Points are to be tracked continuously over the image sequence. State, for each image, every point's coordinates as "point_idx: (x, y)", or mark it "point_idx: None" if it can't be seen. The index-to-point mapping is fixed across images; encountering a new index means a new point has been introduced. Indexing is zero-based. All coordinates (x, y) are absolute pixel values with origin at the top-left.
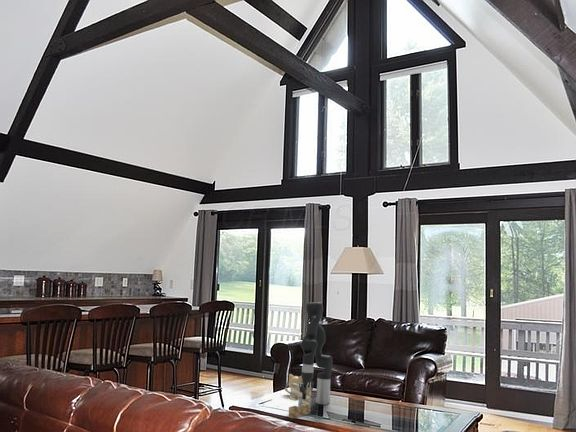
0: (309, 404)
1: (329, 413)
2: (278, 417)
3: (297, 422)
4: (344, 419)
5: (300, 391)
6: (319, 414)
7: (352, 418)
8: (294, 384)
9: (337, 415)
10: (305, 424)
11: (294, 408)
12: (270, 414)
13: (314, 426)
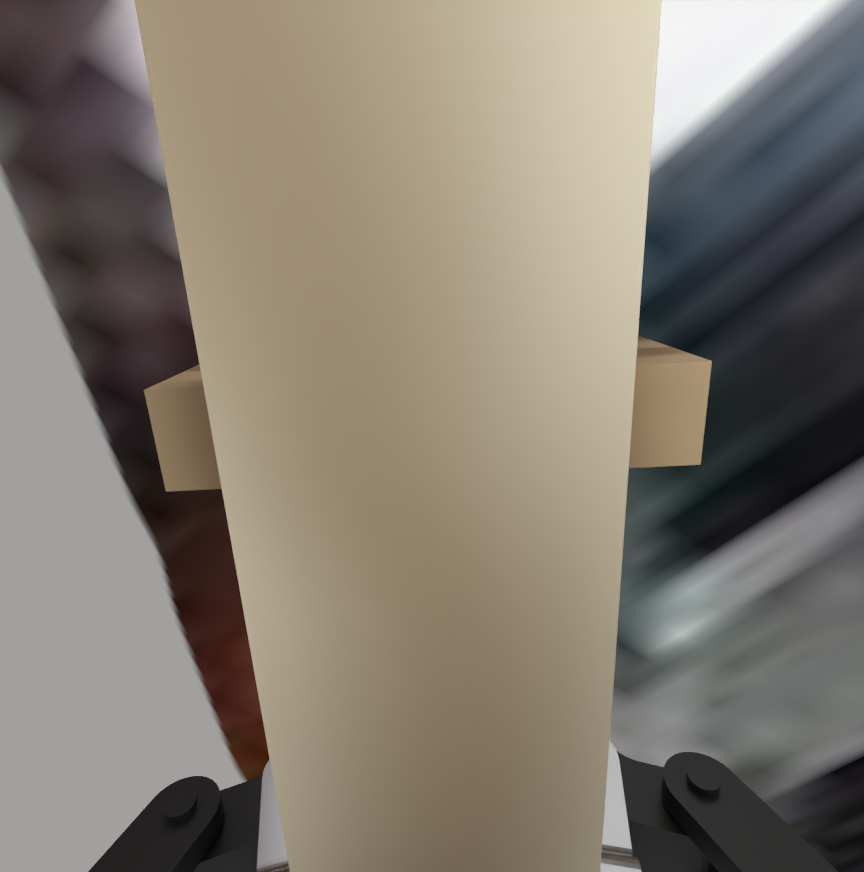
0: (665, 465)
1: (852, 557)
2: (62, 279)
3: (167, 580)
4: (744, 779)
5: (149, 820)
6: (704, 514)
7: (849, 800)
8: (222, 384)
9: (840, 659)
10: (203, 673)
11: (201, 488)
12: (33, 63)
13: (245, 759)
